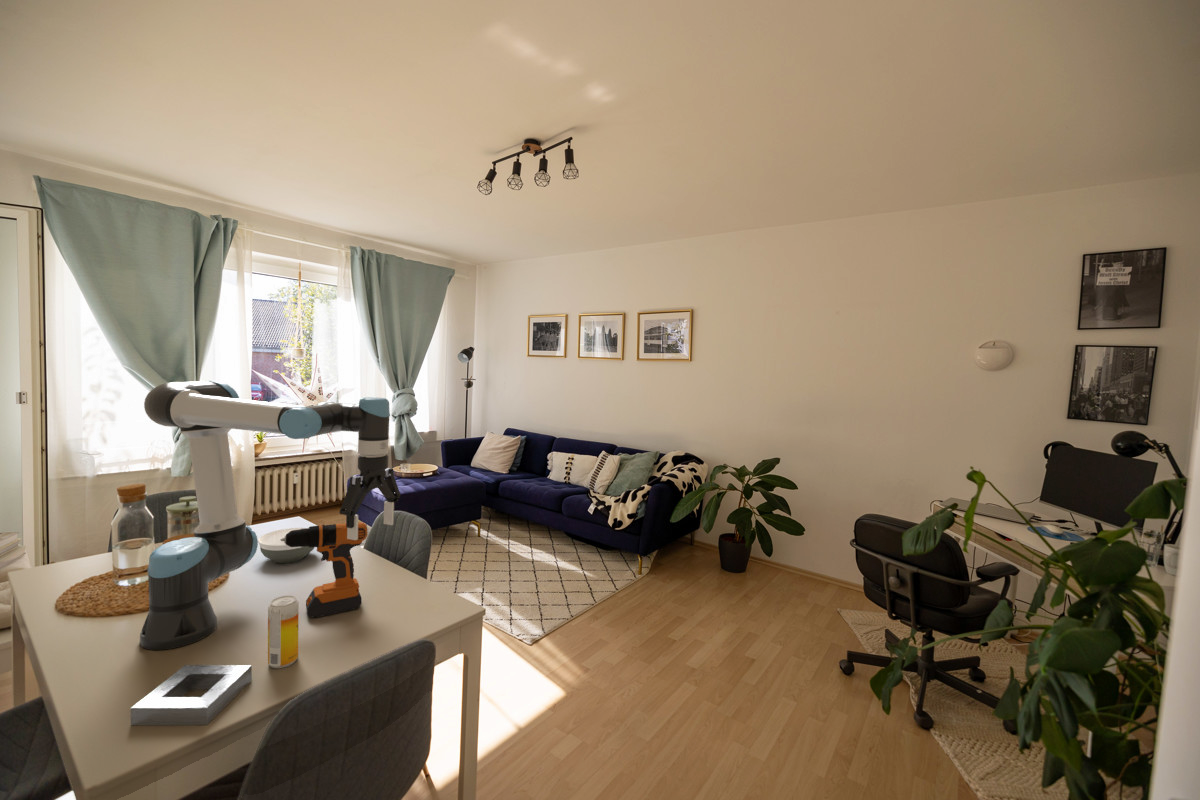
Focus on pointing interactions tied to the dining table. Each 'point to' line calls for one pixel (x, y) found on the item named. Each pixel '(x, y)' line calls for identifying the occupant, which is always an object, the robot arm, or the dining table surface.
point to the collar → (178, 710)
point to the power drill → (337, 550)
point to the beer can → (283, 631)
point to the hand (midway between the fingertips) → (371, 531)
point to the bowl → (281, 547)
